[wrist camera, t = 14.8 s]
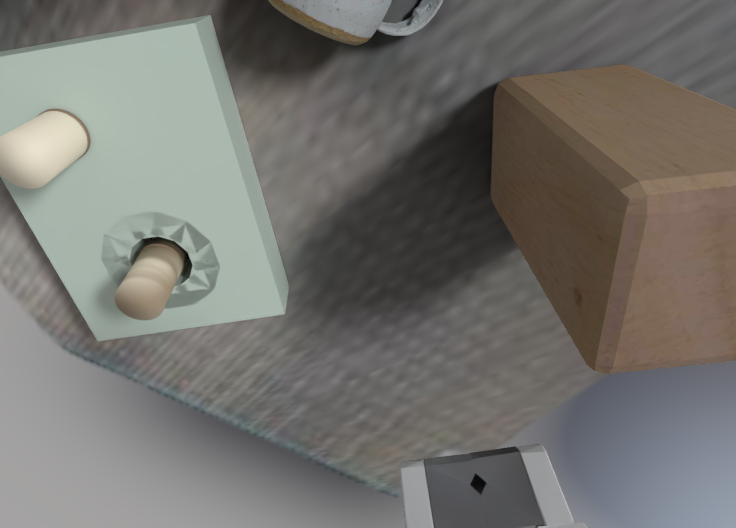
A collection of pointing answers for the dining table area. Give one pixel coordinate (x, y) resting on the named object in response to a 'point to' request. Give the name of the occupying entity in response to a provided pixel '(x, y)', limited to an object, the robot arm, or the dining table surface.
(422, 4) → the ceramic mug
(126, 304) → the peg
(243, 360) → the dining table surface
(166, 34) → the board
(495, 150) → the wooden block
